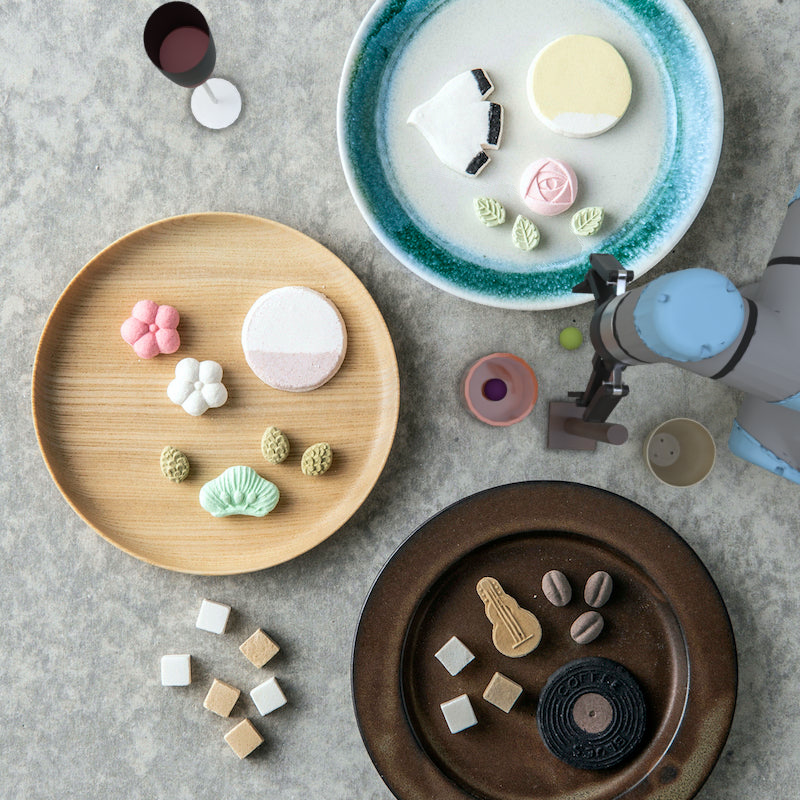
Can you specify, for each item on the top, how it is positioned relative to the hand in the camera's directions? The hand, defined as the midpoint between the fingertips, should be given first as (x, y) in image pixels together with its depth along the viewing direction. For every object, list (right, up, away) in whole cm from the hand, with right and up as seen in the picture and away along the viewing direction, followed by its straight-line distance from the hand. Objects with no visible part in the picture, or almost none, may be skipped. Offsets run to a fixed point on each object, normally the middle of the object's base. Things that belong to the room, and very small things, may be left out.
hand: (579, 342), depth 94 cm
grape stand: (+2, -11, +14) cm, 18 cm away
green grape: (+2, +2, +13) cm, 13 cm away
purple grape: (-9, -6, +12) cm, 16 cm away
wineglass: (-51, +37, +13) cm, 64 cm away
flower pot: (+16, -15, +15) cm, 27 cm away
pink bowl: (-10, -6, +14) cm, 18 cm away
